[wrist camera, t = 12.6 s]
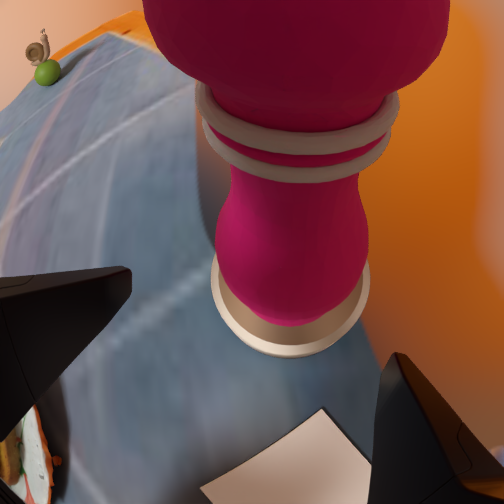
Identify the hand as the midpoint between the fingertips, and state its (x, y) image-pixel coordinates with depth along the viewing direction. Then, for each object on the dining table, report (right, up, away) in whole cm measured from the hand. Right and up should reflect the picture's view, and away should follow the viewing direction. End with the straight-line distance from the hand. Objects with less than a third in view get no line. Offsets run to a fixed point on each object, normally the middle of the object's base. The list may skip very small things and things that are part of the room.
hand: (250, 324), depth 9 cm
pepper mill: (+2, +1, +9) cm, 10 cm away
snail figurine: (-37, +34, +33) cm, 60 cm away
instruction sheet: (+5, -16, +5) cm, 17 cm away
